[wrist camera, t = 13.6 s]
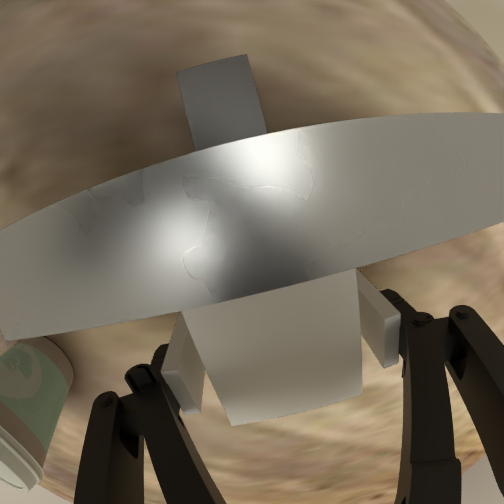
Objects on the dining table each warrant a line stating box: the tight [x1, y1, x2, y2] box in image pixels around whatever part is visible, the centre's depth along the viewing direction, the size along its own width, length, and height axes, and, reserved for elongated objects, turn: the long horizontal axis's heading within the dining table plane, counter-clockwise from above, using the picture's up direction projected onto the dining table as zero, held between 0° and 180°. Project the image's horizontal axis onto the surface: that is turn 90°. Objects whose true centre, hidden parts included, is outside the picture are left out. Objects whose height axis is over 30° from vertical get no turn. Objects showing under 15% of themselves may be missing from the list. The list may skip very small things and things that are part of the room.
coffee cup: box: [0, 336, 74, 492], centre depth 14 cm, size 8×8×12 cm
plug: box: [176, 54, 362, 426], centre depth 13 cm, size 16×6×8 cm, turn 14°
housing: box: [0, 112, 504, 341], centre depth 11 cm, size 3×21×11 cm, turn 103°
